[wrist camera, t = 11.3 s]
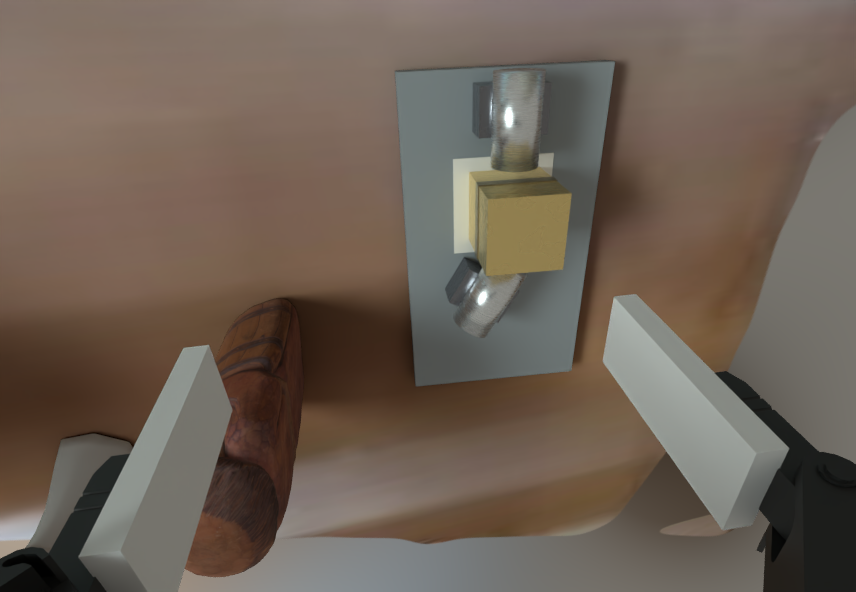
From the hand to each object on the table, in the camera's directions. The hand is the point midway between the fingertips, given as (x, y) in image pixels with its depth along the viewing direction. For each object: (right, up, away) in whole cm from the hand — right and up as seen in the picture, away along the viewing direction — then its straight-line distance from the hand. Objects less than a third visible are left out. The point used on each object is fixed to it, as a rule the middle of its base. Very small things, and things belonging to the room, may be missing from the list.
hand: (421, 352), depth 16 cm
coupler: (+6, +8, +18) cm, 21 cm away
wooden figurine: (-13, -3, +24) cm, 28 cm away
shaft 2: (+4, +3, +21) cm, 22 cm away
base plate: (+6, +6, +21) cm, 23 cm away
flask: (-30, -13, +28) cm, 43 cm away
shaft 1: (+5, +14, +16) cm, 21 cm away
